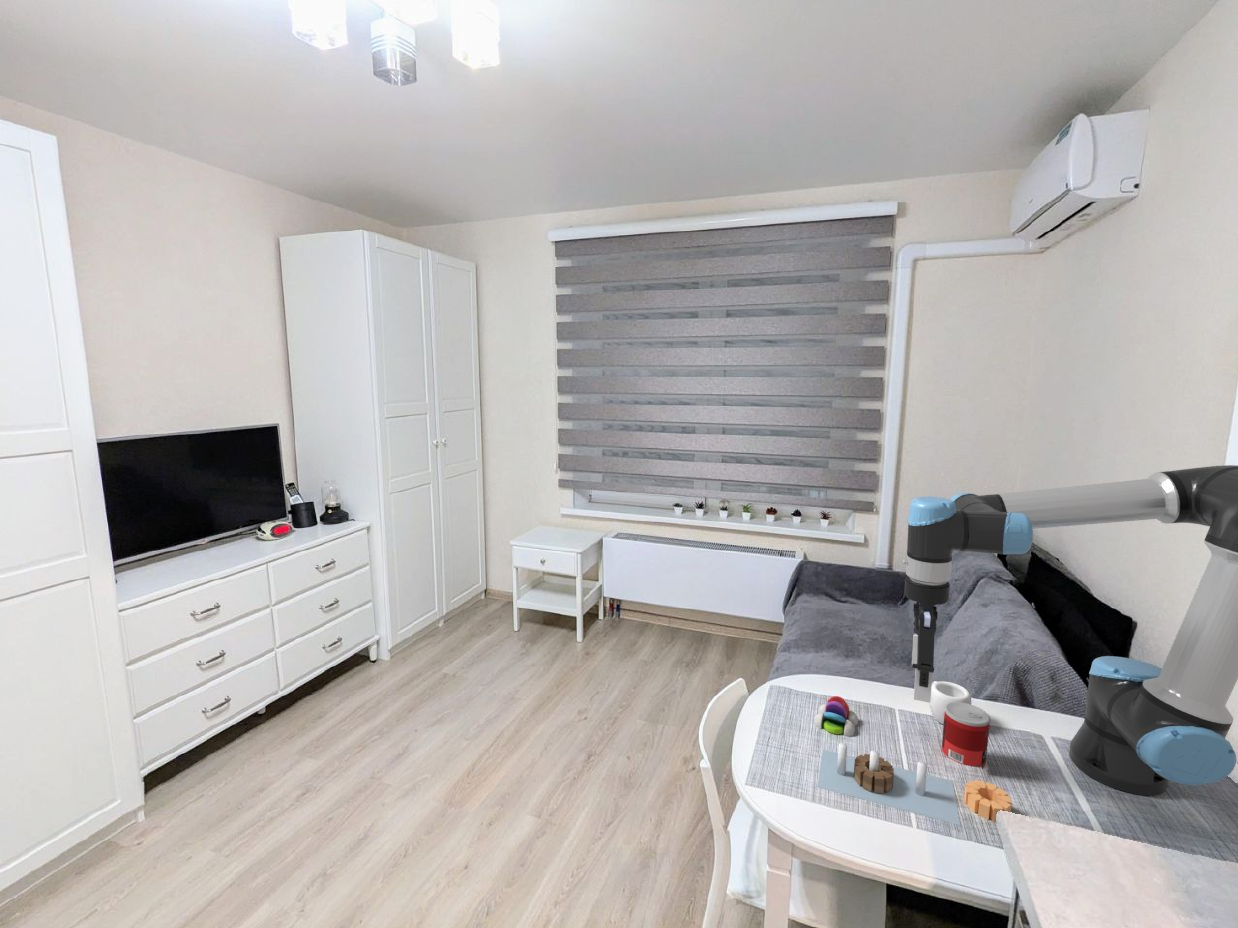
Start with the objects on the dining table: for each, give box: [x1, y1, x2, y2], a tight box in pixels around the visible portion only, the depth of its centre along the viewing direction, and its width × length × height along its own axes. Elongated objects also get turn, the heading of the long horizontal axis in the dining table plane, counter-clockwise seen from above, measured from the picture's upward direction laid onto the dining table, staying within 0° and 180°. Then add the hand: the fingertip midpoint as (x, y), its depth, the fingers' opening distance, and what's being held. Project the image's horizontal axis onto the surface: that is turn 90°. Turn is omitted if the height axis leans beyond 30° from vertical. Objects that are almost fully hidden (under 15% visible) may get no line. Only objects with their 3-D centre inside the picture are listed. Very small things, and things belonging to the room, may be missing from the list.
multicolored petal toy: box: [813, 695, 859, 737], centre depth 130 cm, size 8×10×7 cm
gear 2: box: [964, 780, 1013, 822], centre depth 105 cm, size 7×7×4 cm
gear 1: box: [854, 753, 894, 793], centre depth 112 cm, size 7×7×3 cm
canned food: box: [941, 702, 991, 770], centre depth 119 cm, size 8×8×11 cm
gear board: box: [817, 742, 962, 826], centre depth 111 cm, size 24×12×8 cm, turn 66°
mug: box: [928, 680, 972, 725], centre depth 134 cm, size 12×8×8 cm
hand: (920, 682), depth 112 cm, fingers open, 13 cm apart
